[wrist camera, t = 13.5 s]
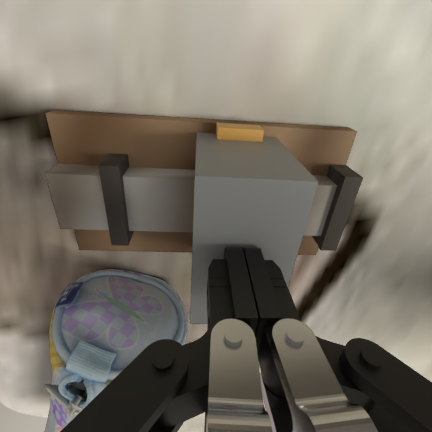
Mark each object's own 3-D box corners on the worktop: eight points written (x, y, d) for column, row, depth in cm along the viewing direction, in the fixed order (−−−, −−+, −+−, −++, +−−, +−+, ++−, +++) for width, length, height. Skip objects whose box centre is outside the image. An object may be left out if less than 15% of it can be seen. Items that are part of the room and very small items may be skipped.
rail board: (348, 127, 16) (376, 140, 13) (311, 246, 21) (326, 273, 18) (54, 109, 15) (23, 120, 12) (84, 241, 19) (66, 269, 17)
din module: (278, 126, 15) (323, 166, 9) (255, 248, 19) (277, 324, 14) (197, 121, 14) (195, 159, 9) (193, 247, 19) (189, 324, 13)
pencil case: (83, 246, 20) (0, 379, 12) (195, 271, 22) (192, 401, 13) (65, 389, 30) (14, 516, 21) (143, 398, 31) (123, 518, 23)
